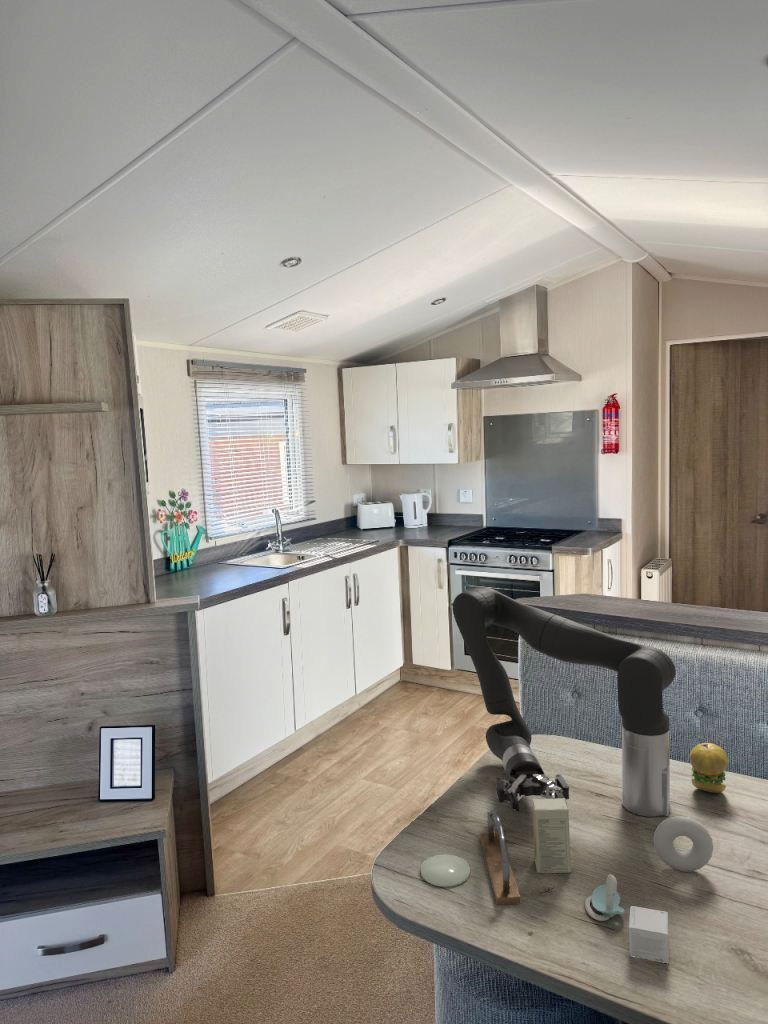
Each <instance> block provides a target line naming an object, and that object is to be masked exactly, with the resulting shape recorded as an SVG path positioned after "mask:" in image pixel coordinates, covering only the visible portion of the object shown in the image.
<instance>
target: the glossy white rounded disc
mask: <svg viewBox="0 0 768 1024" xmlns="http://www.w3.org/2000/svg"><path fill="white" fill-rule="evenodd" d="M420 875H421V877H422V879H423V880H424V881H425V882H427V883H428V884H431V885H432V886H437V887H443V888H452V887H456V886H459V885H461V884H463V883H465V882H466V881H467V880H468V879H469V878H470V876H471V866H470V865H469V863H468V862H467V861H466V860H465V859H463V858H462V857H460V856H458V855H457V856H456V855H453V854H438V855H433V856H430V857H428V858H426V859H425V860H424V861H423V862H422V864H421V865H420Z"/></svg>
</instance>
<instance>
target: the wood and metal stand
mask: <svg viewBox="0 0 768 1024" xmlns="http://www.w3.org/2000/svg"><path fill="white" fill-rule="evenodd" d="M495 825H496V828H497V832H495ZM478 834H479V842H480V847H481V850H482V853H483V857H484V861H485V864H486V869H487V873H488V876H489V880H490V883H491V887H492V890H493V894H494V895H493V896H494V897H495V903H496V905H497V906H498V905H514V904H515V905H517V904H519V905H520V904H521V903H522V902H521V894H520V891H519V889H518V885H517V882H516V881H517V880H516V879H515V876H514V873H513V870H512V866H511V863H510V860H509V856H508V850H507V845H506V839H505V834H504V827H503V825H502V822H501V819H500V816H499V814H498V811H497V809H496V808H492V809H490V810H488V811H487V832H486V833H485V832H484V833H478Z"/></svg>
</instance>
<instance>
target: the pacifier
mask: <svg viewBox="0 0 768 1024" xmlns="http://www.w3.org/2000/svg"><path fill="white" fill-rule="evenodd" d="M592 891H593V892H592V895H590V896H589V895H588V897H587V898H586V899H585V900H584V901H585V902H584V908H585V910H586V911H585V912H586V913H587V914H588V915H589V916H590V917H591V918H593V920H596V921H600V922H606V921H608V920H610V917H611V918H613V917H615V916H616V915H621V914H624V913H625V909H624V908H623V907H621V906H619V905H620V902H621V896H620V894H619V893H620V892H618V882H617V878H616V877H615V876H614V875H613V874H611V873H610V874H608V875H607V878H606V880H605V883H604V884H600V885H598V886H596V887H595V888H594V890H592ZM591 905H592V907H593V908H594V910H596V911H598V912H599V913H601V914H602V915H601V914H598V913H596V912H595V911H594V910H593V909H592V907H591Z"/></svg>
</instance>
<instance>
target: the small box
mask: <svg viewBox="0 0 768 1024" xmlns="http://www.w3.org/2000/svg"><path fill="white" fill-rule="evenodd" d="M628 919H629V921H628V936H629V937H628V940H629V941H628V945H629V946H628V947H629V948H628V949H629V956H630V955H632V956H635V957H639V958H638V959H640V958H645V959H649V960H648V961H650V960H654V961H653V962H655V961H657V962H656V963H660V962H664V963H667V964H666V965H668V964H669V962H668V961H669V959H670V931H669V929H670V928H669V912H667V911H663V910H658V909H651V908H646V907H641V906H635V905H631V906H630V908H629V917H628ZM635 957H634V958H635ZM645 959H644V960H645ZM659 961H660V962H659ZM664 963H663V964H664Z"/></svg>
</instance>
